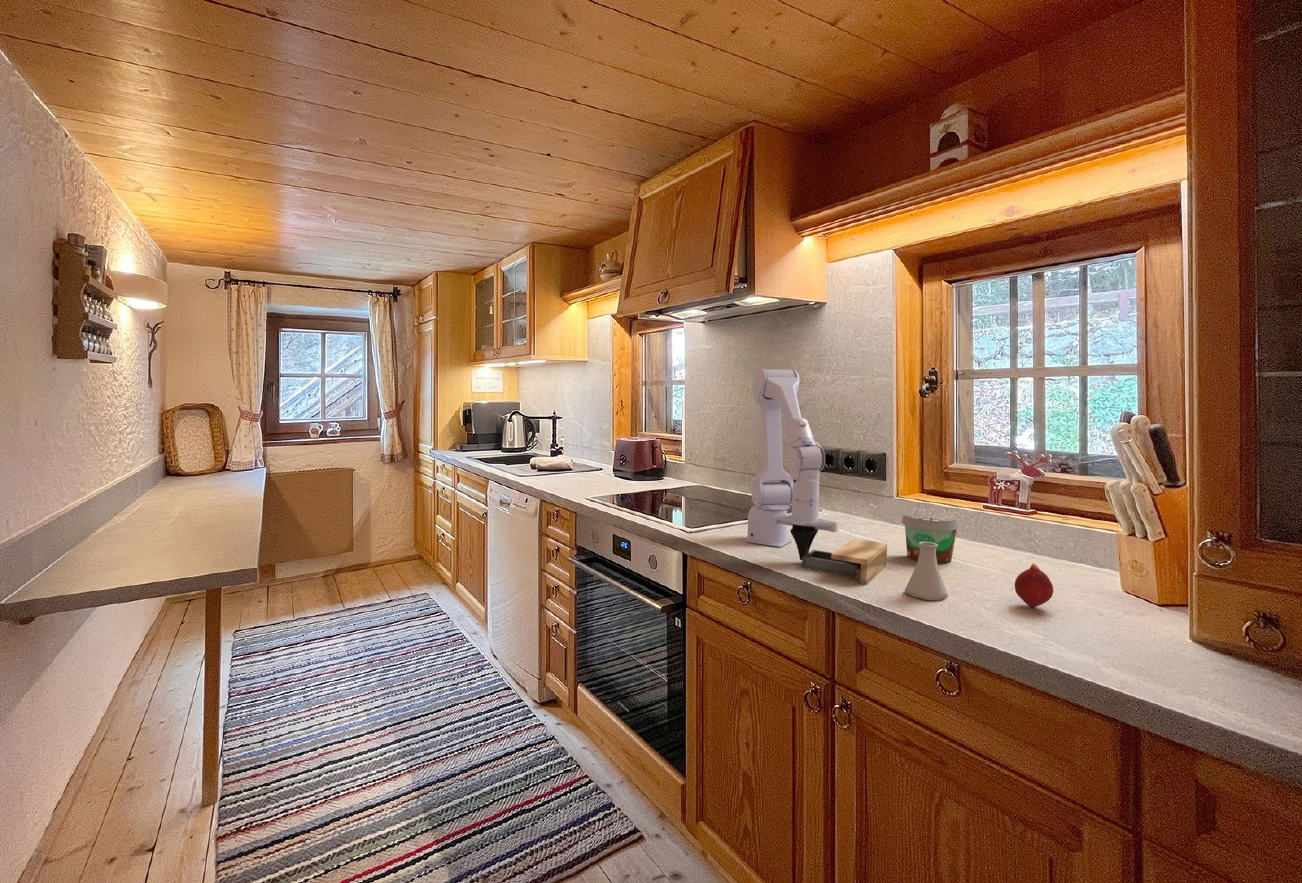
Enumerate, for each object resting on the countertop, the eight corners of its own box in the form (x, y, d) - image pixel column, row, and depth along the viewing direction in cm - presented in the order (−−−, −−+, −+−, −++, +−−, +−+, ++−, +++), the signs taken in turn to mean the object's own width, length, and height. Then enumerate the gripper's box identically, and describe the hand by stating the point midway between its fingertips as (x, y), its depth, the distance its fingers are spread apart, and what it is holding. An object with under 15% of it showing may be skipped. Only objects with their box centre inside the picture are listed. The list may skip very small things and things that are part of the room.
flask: (929, 604, 109) (931, 550, 108) (896, 592, 115) (898, 541, 114) (955, 598, 112) (958, 545, 111) (922, 586, 119) (924, 537, 118)
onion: (1059, 611, 105) (1062, 567, 105) (1034, 614, 104) (1037, 569, 103) (1030, 600, 111) (1033, 558, 110) (1005, 603, 109) (1008, 560, 109)
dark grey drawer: (802, 567, 131) (802, 556, 131) (813, 560, 137) (813, 549, 137) (857, 577, 124) (858, 565, 124) (866, 569, 130) (867, 558, 130)
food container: (897, 561, 137) (899, 518, 136) (900, 554, 142) (902, 513, 141) (958, 568, 131) (960, 523, 130) (958, 561, 136) (960, 518, 135)
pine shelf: (830, 578, 124) (831, 554, 123) (853, 560, 137) (854, 538, 136) (866, 584, 120) (867, 559, 119) (886, 565, 133) (887, 543, 132)
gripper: (767, 498, 134) (766, 557, 135) (831, 505, 126) (829, 569, 127) (780, 494, 140) (778, 551, 141) (842, 500, 131) (840, 561, 132)
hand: (803, 559), depth 134 cm, fingers closed
